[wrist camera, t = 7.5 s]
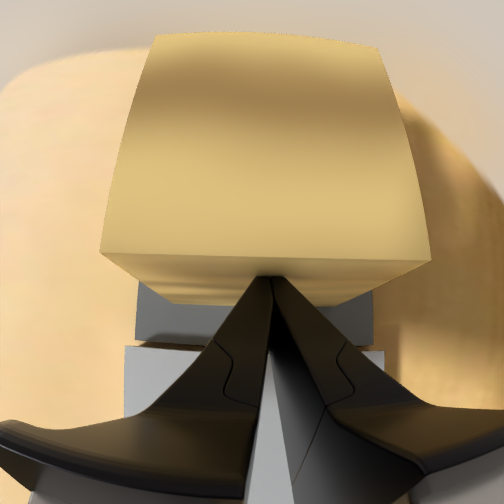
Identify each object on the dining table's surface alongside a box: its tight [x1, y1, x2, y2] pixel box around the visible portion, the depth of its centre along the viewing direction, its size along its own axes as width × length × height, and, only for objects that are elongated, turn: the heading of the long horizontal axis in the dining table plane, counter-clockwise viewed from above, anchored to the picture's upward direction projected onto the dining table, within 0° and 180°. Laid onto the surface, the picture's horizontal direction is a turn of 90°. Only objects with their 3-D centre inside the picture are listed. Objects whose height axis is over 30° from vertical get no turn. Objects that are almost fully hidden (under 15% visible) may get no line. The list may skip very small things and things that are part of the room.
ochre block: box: [100, 32, 432, 307], centre depth 13 cm, size 8×8×9 cm
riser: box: [124, 346, 385, 504], centre depth 13 cm, size 10×12×2 cm
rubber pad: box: [135, 281, 373, 346], centre depth 17 cm, size 11×12×1 cm
